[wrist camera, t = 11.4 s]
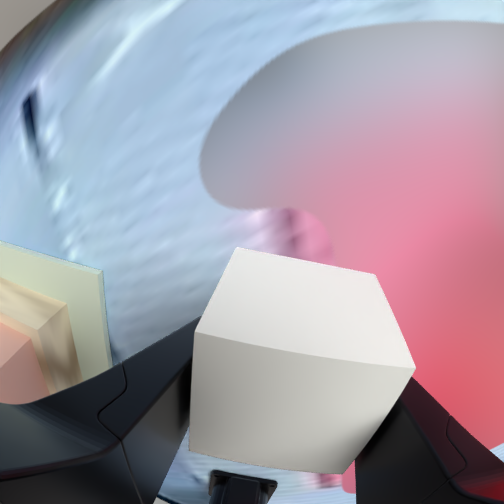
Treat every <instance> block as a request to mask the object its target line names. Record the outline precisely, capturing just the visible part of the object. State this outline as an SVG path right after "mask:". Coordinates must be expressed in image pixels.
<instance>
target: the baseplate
mask: <svg viewBox="0 0 504 504" xmlns="http://www.w3.org/2000/svg"><path fill="white" fill-rule="evenodd" d="M0 277H1V278H4V279H6V280H8V281H11V282H13V283H16V284H18V285H20V286H23V287H25V288H28V289H30V290H33V291H35V292H38V293H41V294H43V295H46V296H48V297H51V298H54V299H56V300H59V301H62V302H65V303H67V307H68V313H69V319H70V324H71V329H72V334H73V339H74V344H75V349H76V353H77V357H78V362H79V366H80V370H81V374H82V378H83V381H86V380H88V379H90V378H92V377H94V376H96V375H98V374H100V373H102V372H104V371H106V370H108V369H110V368H112V367H113V363H112V356H111V350H110V342H109V335H108V326H107V317H106V307H105V296H104V283H103V271H102V270H98V269H94V268H91V267H87V266H83V265H80V264H76V263H73V262H69V261H66V260H62V259H59V258H55V257H52V256H49V255H45V254H42V253H39V252H35V251H32V250H29V249H25V248H22V247H19V246H16V245H13V244H10V243H6V242H3V241H0Z"/></svg>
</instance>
